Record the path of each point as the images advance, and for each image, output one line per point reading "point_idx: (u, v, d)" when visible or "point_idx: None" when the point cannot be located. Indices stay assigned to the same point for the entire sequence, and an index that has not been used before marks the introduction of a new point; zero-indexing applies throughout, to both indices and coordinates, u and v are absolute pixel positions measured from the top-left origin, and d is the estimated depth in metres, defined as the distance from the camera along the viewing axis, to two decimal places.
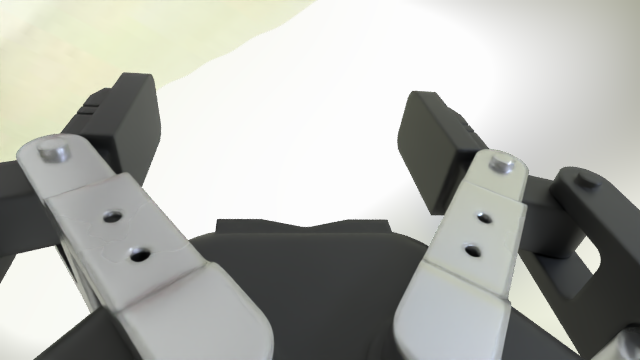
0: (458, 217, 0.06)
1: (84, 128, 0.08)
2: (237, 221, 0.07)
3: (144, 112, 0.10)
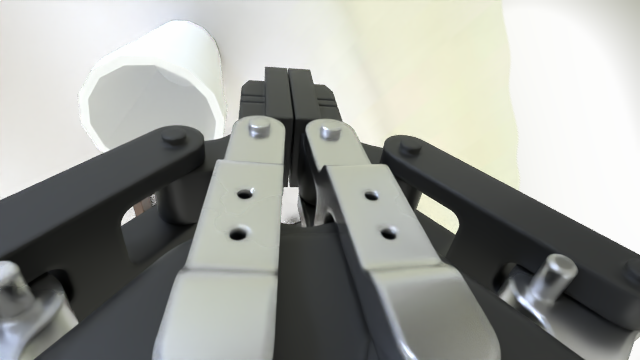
0: (354, 207, 0.06)
1: (267, 112, 0.10)
2: None
3: None
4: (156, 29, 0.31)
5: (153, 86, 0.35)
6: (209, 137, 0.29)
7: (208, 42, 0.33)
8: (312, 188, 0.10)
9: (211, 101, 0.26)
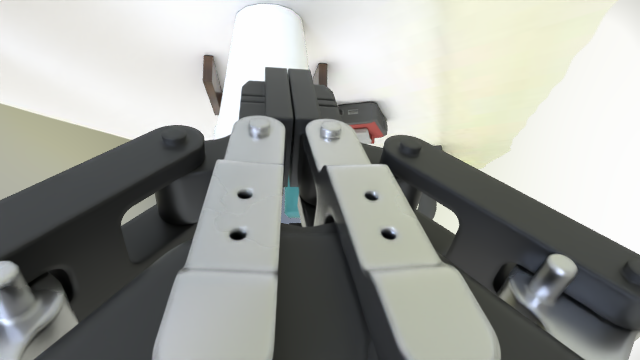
0: (354, 207, 0.06)
1: (267, 112, 0.10)
2: None
3: None
4: (254, 44, 0.32)
5: None
6: None
7: (299, 44, 0.34)
8: (312, 188, 0.10)
9: None
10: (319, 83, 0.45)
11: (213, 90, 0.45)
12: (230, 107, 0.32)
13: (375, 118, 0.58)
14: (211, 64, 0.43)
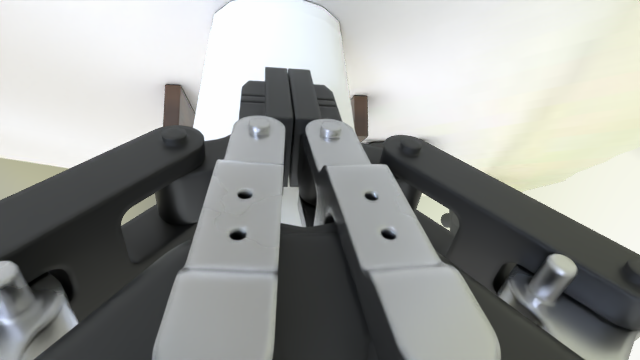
0: (354, 207, 0.06)
1: (267, 112, 0.10)
2: None
3: None
4: None
5: None
6: None
7: (340, 78, 0.17)
8: (311, 188, 0.10)
9: None
10: (355, 128, 0.28)
11: None
12: None
13: None
14: (178, 99, 0.26)
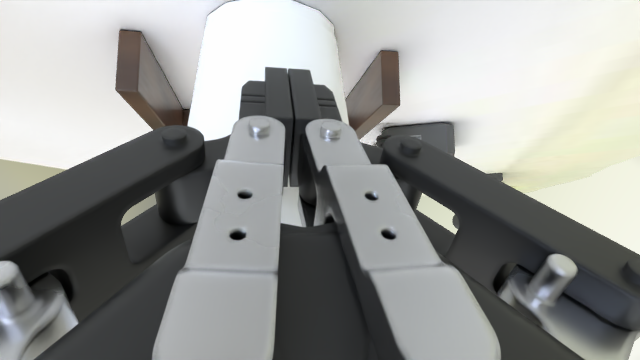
0: (354, 207, 0.06)
1: (267, 112, 0.10)
2: None
3: None
4: None
5: None
6: None
7: (336, 82, 0.17)
8: (312, 188, 0.10)
9: None
10: (383, 94, 0.20)
11: (150, 109, 0.21)
12: None
13: (452, 150, 0.34)
14: (137, 51, 0.18)
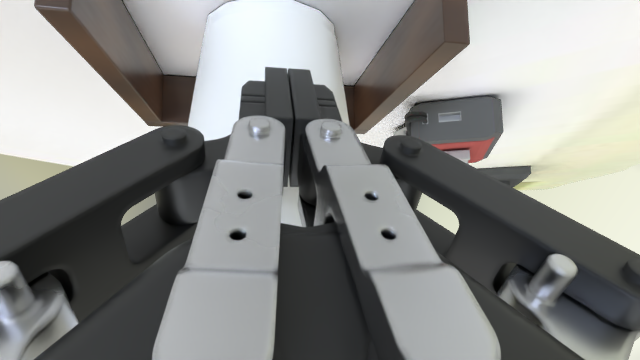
0: (354, 207, 0.06)
1: (267, 112, 0.10)
2: None
3: None
4: None
5: None
6: None
7: (336, 82, 0.17)
8: (312, 188, 0.10)
9: None
10: (446, 27, 0.14)
11: (101, 53, 0.14)
12: None
13: (500, 130, 0.27)
14: None
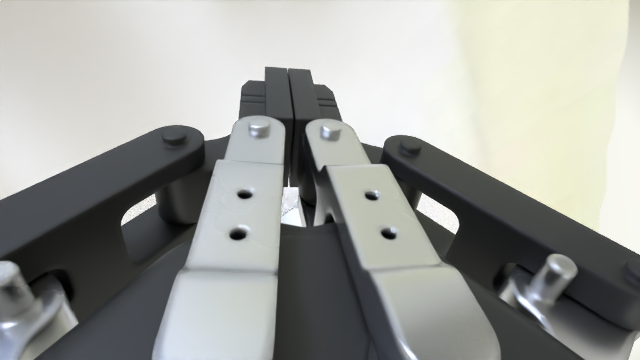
0: (354, 207, 0.06)
1: (267, 112, 0.10)
2: None
3: None
4: None
5: None
6: None
7: None
8: (312, 188, 0.10)
9: None
10: None
11: None
12: None
13: None
14: None
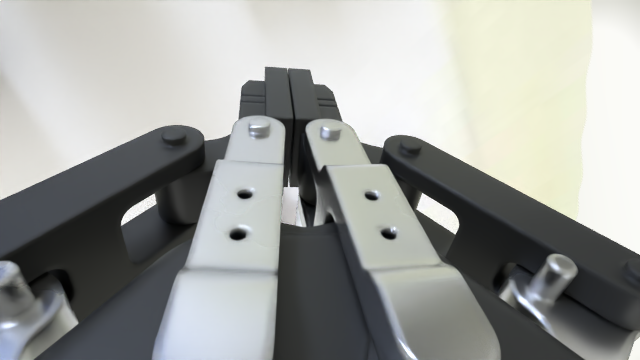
0: (354, 207, 0.06)
1: (267, 112, 0.10)
2: None
3: None
4: None
5: None
6: None
7: None
8: (312, 188, 0.10)
9: None
10: None
11: None
12: None
13: None
14: None
